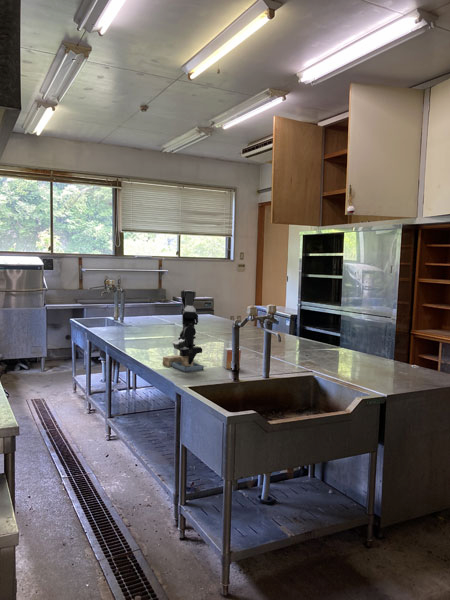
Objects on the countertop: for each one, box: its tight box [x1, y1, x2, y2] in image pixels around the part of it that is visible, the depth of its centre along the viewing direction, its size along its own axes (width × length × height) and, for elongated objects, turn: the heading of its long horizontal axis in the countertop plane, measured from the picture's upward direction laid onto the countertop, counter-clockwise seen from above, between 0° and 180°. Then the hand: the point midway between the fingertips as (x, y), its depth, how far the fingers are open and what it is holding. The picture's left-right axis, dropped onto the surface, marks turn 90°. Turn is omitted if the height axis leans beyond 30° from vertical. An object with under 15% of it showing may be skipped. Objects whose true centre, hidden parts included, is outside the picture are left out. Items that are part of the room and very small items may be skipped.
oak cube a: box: [181, 356, 194, 367], centre depth 247 cm, size 4×4×4 cm
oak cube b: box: [171, 354, 182, 362], centre depth 255 cm, size 4×4×4 cm
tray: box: [170, 361, 204, 373], centre depth 248 cm, size 14×12×2 cm
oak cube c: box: [162, 355, 175, 367], centre depth 252 cm, size 4×4×4 cm
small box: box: [222, 347, 242, 370], centre depth 254 cm, size 8×6×10 cm
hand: (187, 363), depth 248 cm, fingers closed on oak cube a, 4 cm apart
